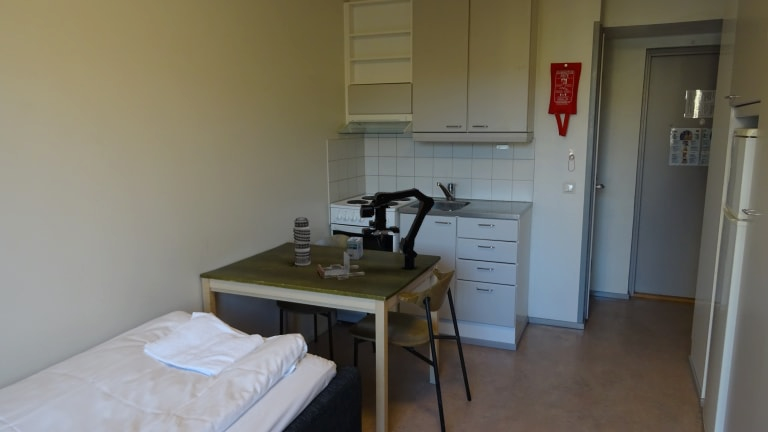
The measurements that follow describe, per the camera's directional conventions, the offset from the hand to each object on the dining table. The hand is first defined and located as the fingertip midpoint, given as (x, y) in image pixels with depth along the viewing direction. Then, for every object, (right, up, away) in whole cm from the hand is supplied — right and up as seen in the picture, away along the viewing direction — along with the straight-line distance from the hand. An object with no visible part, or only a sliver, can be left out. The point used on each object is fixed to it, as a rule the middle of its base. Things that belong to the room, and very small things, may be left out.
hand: (380, 247), depth 266 cm
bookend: (-23, -13, -4) cm, 26 cm away
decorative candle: (-42, -10, +15) cm, 46 cm away
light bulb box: (-15, -8, +28) cm, 32 cm away
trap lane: (-20, -13, -4) cm, 24 cm away
